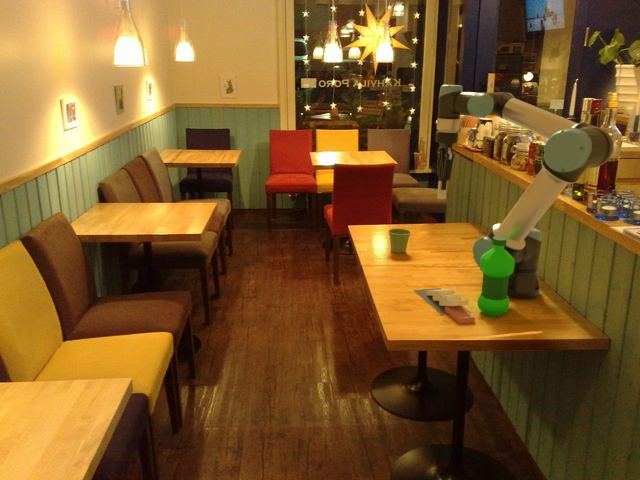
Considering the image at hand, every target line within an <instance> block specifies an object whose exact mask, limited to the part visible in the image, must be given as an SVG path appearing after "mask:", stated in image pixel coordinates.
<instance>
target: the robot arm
mask: <svg viewBox="0 0 640 480" xmlns="http://www.w3.org/2000/svg"><path fill="white" fill-rule="evenodd" d="M461 116H469V117H474V118H486V117H488V116H495V117H498V118H500V119H503V120H506V121H508V122H510V123H512V124H515V125H517V126H519V127H521V128H523V129H526V130H528V131H529V132H532V133H534V134H537V135H539V136H541V137H543V138H546V139H547V140H546V142H545V144H544V148H543V152H544V153H543V156H542V158H541V160H540V161H541V169H540V171H538V173H537V174H536V175H535V177H534V178H533V180H532V181H531V183H529V186H528V187H527V188H526V189H525V191H524V192H523V193H522V195H521V196H520V197H519V199H518V200H517V201H516V203H515V204H514V206H513V207H512V208H511V210H510V211H509V212H508V214H507V215H506V217H505V218H504V219H503V221H501V222H499V223H498V222H497V223H495V224H494V225H493V226H492V228H490V230H489V231H488V233H487V234H486V235H484V236H481V237H479V238H477V239H476V240H475V241H474V243H473V245H472V254H473V260H474V262H475V263H476V266H478V267H479V268H480V260H481V257H482V255H483V254H484V253H486V252H487V251H489V250H491V249H492V248H494V245H493V244H492V239H493V237H494V236H502V237H506V238H507V243H506V245H505V246H504V249H505V250H506V251H507V252H508V253H509V254H510V255H511V256H512V257H513V258H514V261H515V265H514V271H513V274H511V275H510V276H509V281H508V291H507V296H508V298H514V299H519V300H520V299H521V300H522V299H523V300H525V299H526V300H527V299H528V300H529V299H530V300H531V299H535V298H538V297H539V296H540V294H541V293H540V292H541V286H540V280H539V276H538V275H539V274H538V269H539V268H538V267H539V260H540V253H541V246H542V242H543V240H542V239H543V237H542V236H543V234H542V231H541V230H539V228H538V229H537V228H535V226H536V225H537V224H538V222H539V221H540V219H542V218H543V216H544V214H545V213H546V212H547V211H548V210H549V208H550V207H551V206H552V205H553V204H554V202H555V201H556V200H557V199H558V197H559V196H560V194H561V193H562V192H563V190H564V189H565V188H566V187H567V185H568V184H569V185H571V184H575V183H577V182H578V180H579V179H580V178H581V177H582V175H583V174H584V172H586V170H588V169H593V168H598V167H600V166H603V165H604V164H605V163H607V162H608V161H609V160H610V159H611V157H612V155H613V154H614V153H613V152H614V148H615V144H614V139H613V137H612V136H611V134H610V133H609V132H608V131H607V130H605V129H603V128H601V127H598V126H595V125H593V124H589V123H587V122H585V121H582V122H579V123H578V122H575V121H572V120H570V119H568V118H565V117H562V116H560V115H559V114H558V115H557V114H555V113H553V112H550V111H548V110H546V109H543V108H540V107H537V106H535V105H534V104H533V105H532V104H530V103H529V102H526V101H523V100H520V99H518V98H516V97H515V96H514V95H513V94H512V93H510V92H505V91H498V92H495V91H494V92H473V91H472V92H471V91H464V90H463V85H462V84H461V85H459V84H442V85H441V86H440V90H439V95H438V109H437V120H436V121H435V124H436V130H437V131H436V132H435V142H436V143H439V147H438V148H437V150H436V153H437V155H436V156H437V161H436V162H437V164H436V165H437V166H436V168H437V170H436V171H437V172H436V176H437V178H438V183H437V184H438V185H437V198H436V199H438V200H446V199H447V192H448V191H447V190H448V182H449V181H450V180H451V174H452V169H453V163H454V160H455V159H454V158H455V153H453V152H454V149H453V144H457V143H458V142H459V132H458V131H460V125H461V124H460V122H461Z"/></svg>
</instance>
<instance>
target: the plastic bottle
mask: <svg viewBox="0 0 640 480" xmlns="http://www.w3.org/2000/svg"><path fill="white" fill-rule="evenodd" d="M506 243H507V238H506V237H502V236H494V237H493V239H492V244H493V245H494V248H492V249H491V250H489V251H487V252H486V253H484V254H483V255H482V257H481V260H480V267H479V269H480V272H481V273H482V274H483V275H482V285H481V293H479V296H478V298H477V307H478V309H479V311H481V312H482V313H483V314H484V315H486V316H489V317H500V316H502V315H504V314H506V313H507V312H508V310H509V308H510V297H508V296H507V291H508V281H509V276H510V275H511V274H513V271H514V265H515V261H514V258H513V257H512V256H511V255H510V254H509V253H508V252H507V251H506V250H505V249H504V246H505V245H506Z"/></svg>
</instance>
